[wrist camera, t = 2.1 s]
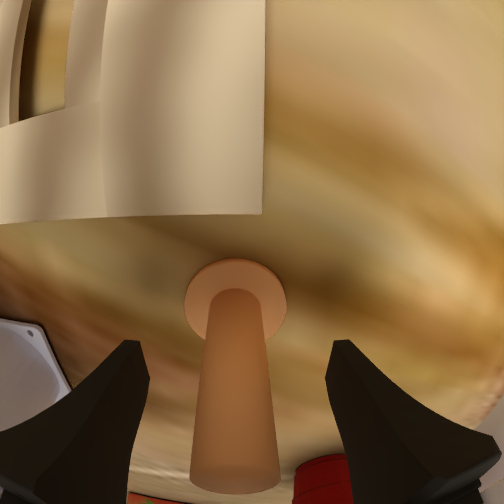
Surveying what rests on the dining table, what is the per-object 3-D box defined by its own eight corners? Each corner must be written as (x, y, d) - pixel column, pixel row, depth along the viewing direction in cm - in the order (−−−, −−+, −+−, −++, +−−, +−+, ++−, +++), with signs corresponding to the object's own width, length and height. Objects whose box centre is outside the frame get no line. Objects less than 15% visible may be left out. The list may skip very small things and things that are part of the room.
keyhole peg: (190, 340, 15) (165, 499, 7) (181, 258, 13) (120, 431, 5) (281, 340, 15) (310, 499, 7) (288, 257, 14) (346, 432, 5)
